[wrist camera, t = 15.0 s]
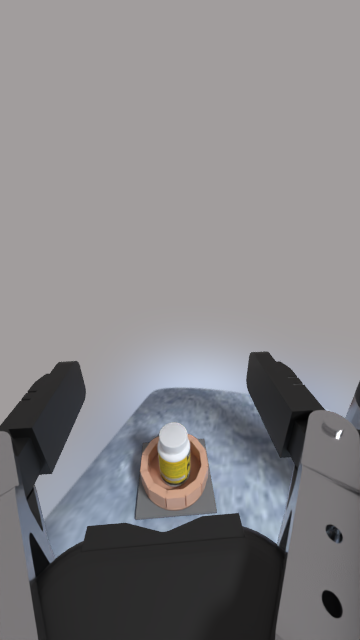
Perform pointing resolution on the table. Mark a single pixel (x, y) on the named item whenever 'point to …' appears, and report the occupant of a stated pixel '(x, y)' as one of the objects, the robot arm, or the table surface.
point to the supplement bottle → (174, 454)
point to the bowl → (182, 494)
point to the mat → (201, 506)
